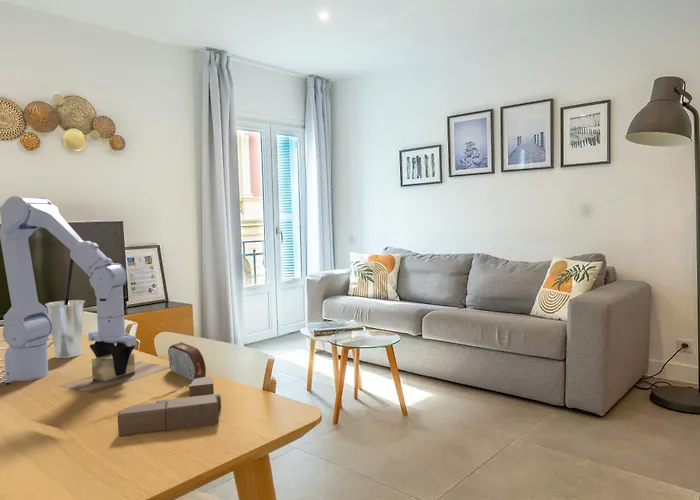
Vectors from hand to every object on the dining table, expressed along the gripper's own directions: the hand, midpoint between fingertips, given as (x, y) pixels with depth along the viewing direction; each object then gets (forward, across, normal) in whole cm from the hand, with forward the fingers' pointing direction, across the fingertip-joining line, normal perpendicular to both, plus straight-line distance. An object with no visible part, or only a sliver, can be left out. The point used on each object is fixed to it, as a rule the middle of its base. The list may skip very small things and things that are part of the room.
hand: (113, 373), depth 123 cm
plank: (+2, 0, +1) cm, 3 cm away
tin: (+2, +14, +9) cm, 17 cm away
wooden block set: (+3, +29, -8) cm, 30 cm away
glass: (+2, -34, +11) cm, 36 cm away
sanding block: (+1, 0, 0) cm, 1 cm away
